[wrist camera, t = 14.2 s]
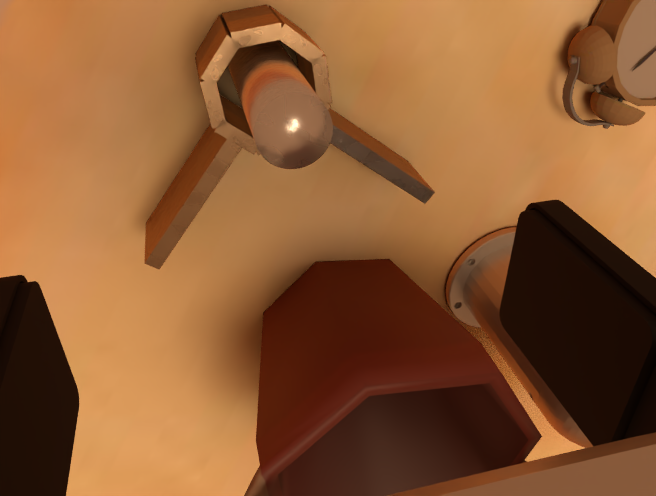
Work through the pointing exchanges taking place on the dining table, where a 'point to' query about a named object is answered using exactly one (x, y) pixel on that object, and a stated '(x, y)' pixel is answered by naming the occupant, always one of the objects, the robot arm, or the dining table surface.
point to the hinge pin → (280, 106)
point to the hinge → (235, 133)
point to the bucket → (376, 390)
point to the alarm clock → (615, 62)
